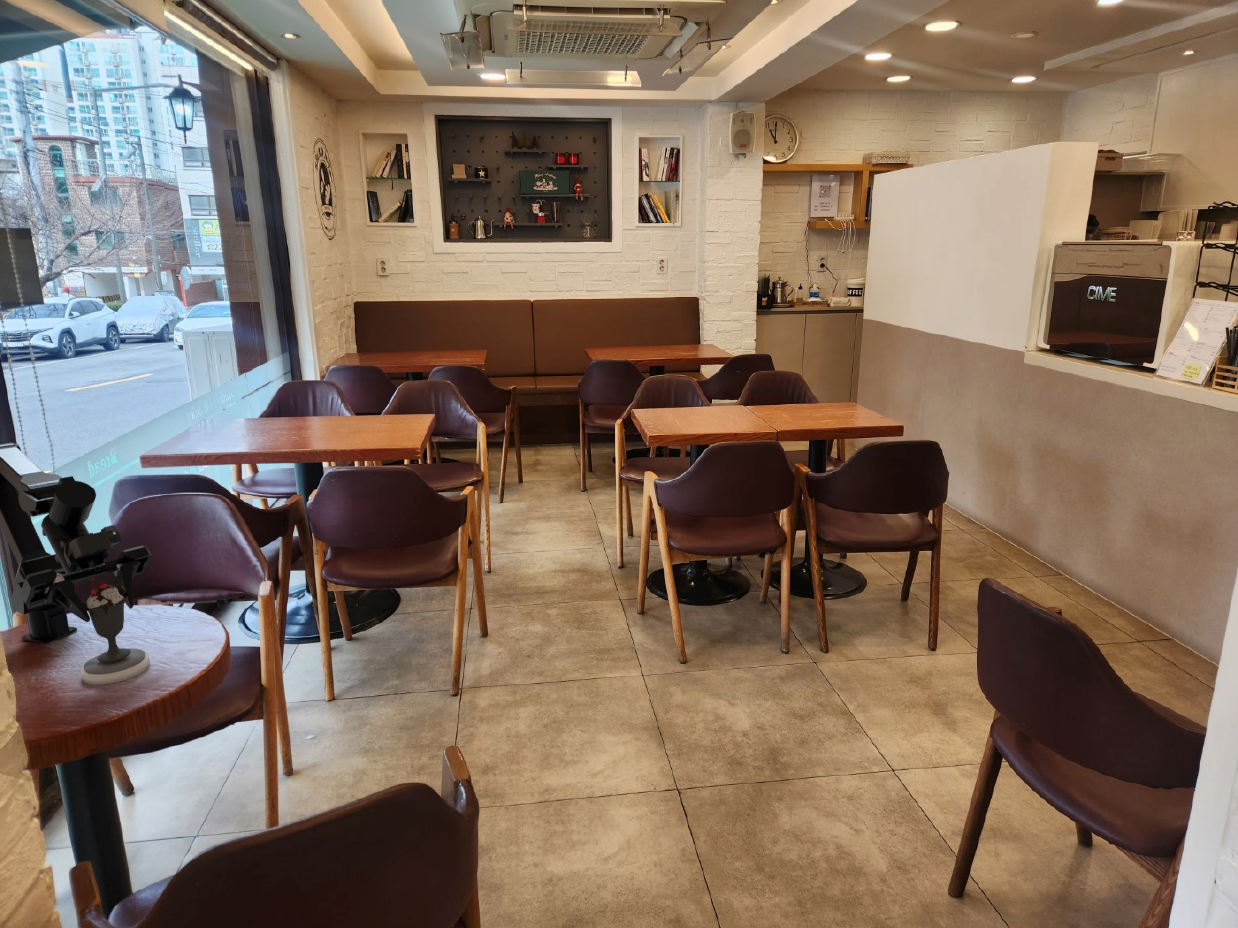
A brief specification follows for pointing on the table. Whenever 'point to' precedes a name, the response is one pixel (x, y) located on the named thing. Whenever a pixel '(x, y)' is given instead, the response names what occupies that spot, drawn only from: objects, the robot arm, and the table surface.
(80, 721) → the table surface
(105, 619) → the sundae
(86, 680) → the round mirror
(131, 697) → the table surface
